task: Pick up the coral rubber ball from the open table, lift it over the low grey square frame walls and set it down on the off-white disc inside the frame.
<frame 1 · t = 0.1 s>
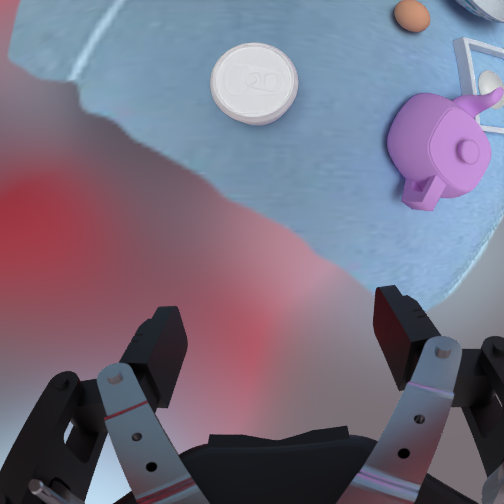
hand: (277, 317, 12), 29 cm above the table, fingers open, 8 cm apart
beverage can: (257, 95, 35), on the table
teapot: (427, 140, 35), on the table
ball: (405, 20, 28), on the table
grey square frame: (491, 89, 30), on the table
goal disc: (491, 89, 30), resting in grey square frame
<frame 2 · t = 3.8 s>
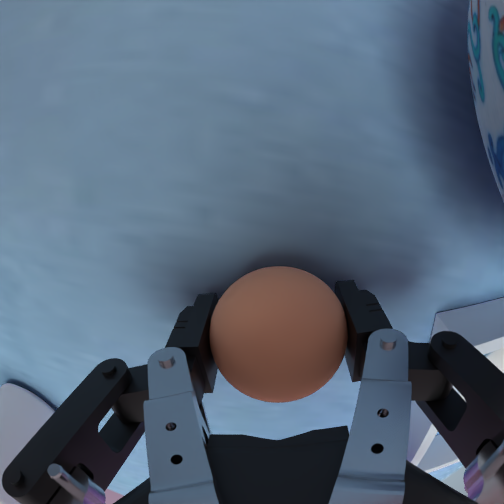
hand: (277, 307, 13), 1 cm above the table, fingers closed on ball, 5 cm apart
beverage can: (39, 409, 20), on the table
ball: (277, 299, 13), on the table, touching gripper
grey square frame: (492, 375, 15), on the table
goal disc: (492, 375, 15), resting in grey square frame
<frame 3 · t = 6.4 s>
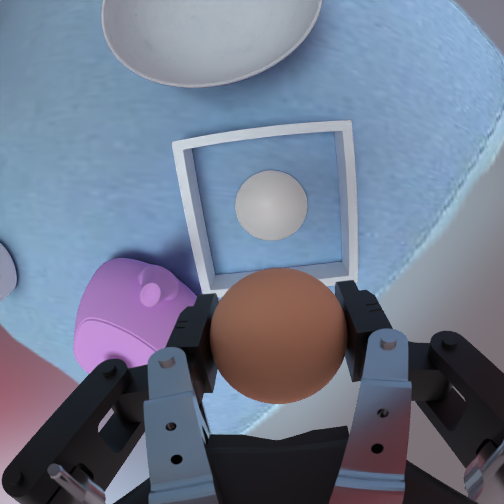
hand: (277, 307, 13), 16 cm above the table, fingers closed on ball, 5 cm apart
beverage can: (1, 263, 31), on the table
teapot: (151, 302, 32), on the table
chinaware: (221, 22, 21), on the table
ball: (277, 300, 13), point 15 cm above the table, touching gripper
grey square frame: (271, 205, 27), on the table
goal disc: (271, 205, 27), resting in grey square frame
when the fingers open (3 cm above the table, at t = 9.2 s): ball drops 2 cm, resting on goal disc.
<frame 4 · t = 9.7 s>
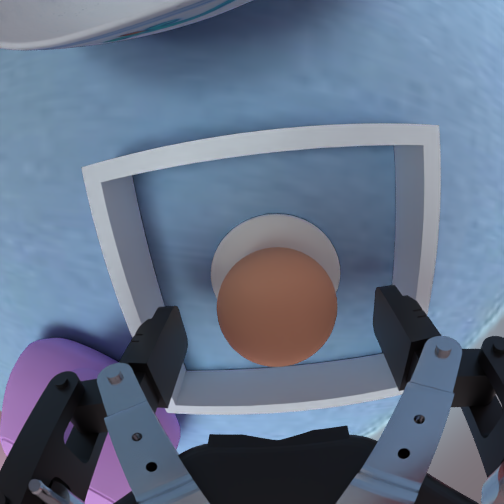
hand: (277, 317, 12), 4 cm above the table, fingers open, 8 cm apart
teapot: (105, 389, 20), on the table
ball: (275, 279, 15), resting on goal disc
grey square frame: (275, 276, 15), on the table
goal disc: (275, 276, 15), resting in grey square frame
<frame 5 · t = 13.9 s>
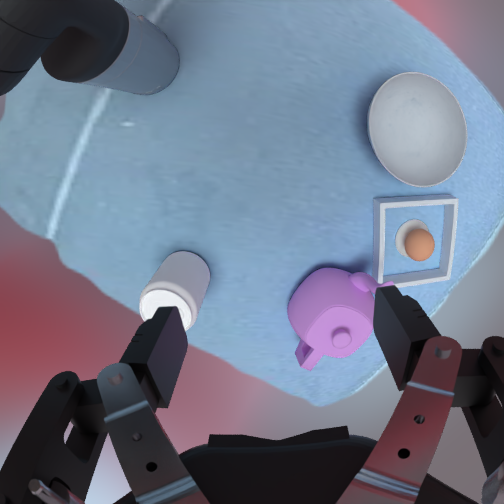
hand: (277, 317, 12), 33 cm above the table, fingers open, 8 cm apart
beverage can: (186, 272, 49), on the table
teapot: (331, 296, 49), on the table
chinaware: (398, 128, 38), on the table
ball: (412, 239, 44), resting on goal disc
grey square frame: (412, 238, 44), on the table
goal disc: (412, 238, 44), resting in grey square frame
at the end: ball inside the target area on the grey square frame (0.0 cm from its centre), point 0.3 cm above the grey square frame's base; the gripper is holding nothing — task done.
